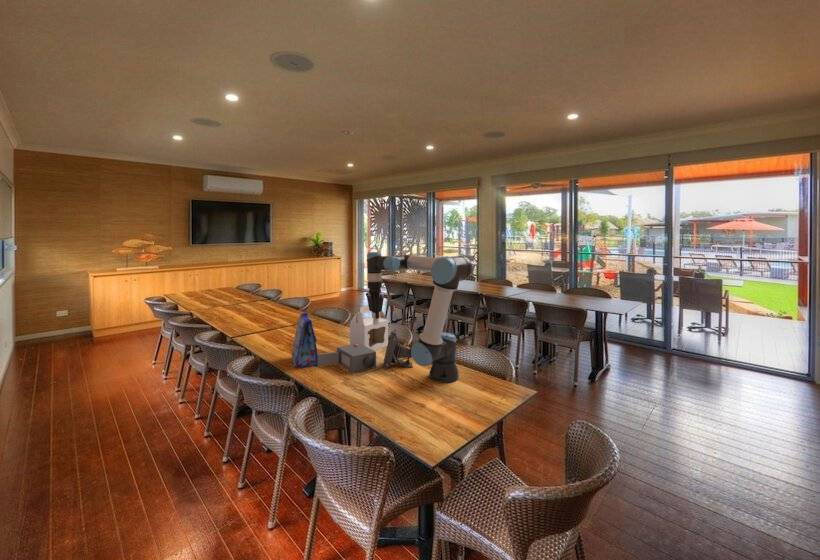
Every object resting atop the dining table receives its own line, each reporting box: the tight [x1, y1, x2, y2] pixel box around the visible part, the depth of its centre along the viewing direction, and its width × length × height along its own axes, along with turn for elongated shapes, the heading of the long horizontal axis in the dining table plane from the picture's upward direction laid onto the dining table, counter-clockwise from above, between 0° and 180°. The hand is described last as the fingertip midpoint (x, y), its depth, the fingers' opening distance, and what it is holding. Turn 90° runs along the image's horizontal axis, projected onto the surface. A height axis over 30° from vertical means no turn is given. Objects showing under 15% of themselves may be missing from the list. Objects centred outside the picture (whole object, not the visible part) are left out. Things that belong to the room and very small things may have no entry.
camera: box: [383, 329, 414, 369], centre depth 216 cm, size 11×17×20 cm, turn 90°
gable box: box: [349, 304, 389, 351], centre depth 248 cm, size 22×13×28 cm, turn 141°
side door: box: [317, 351, 341, 367], centre depth 213 cm, size 13×2×7 cm, turn 116°
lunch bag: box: [291, 311, 319, 369], centre depth 220 cm, size 22×14×29 cm, turn 22°
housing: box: [336, 343, 377, 373], centre depth 215 cm, size 22×14×10 cm, turn 35°
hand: (375, 324), depth 210 cm, fingers closed
